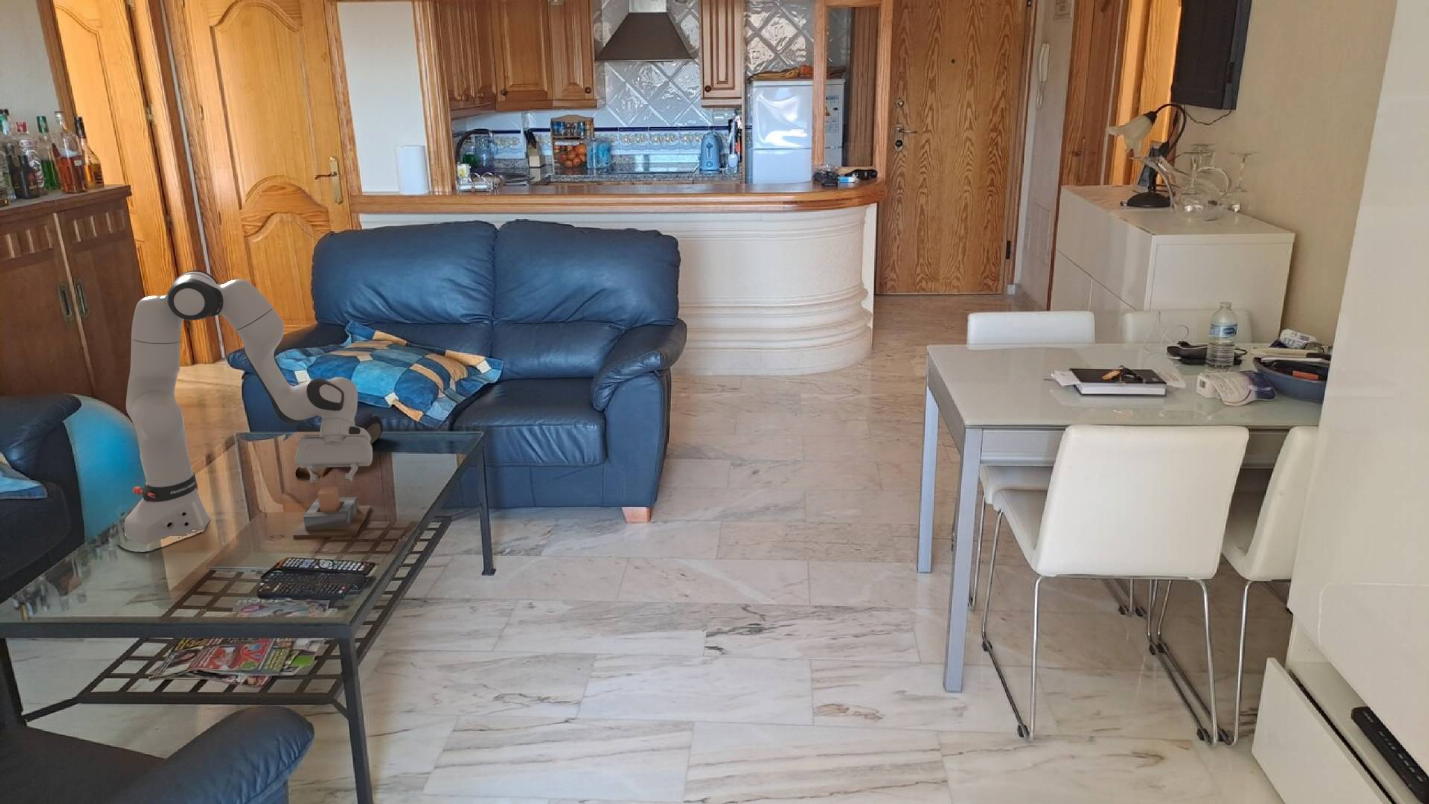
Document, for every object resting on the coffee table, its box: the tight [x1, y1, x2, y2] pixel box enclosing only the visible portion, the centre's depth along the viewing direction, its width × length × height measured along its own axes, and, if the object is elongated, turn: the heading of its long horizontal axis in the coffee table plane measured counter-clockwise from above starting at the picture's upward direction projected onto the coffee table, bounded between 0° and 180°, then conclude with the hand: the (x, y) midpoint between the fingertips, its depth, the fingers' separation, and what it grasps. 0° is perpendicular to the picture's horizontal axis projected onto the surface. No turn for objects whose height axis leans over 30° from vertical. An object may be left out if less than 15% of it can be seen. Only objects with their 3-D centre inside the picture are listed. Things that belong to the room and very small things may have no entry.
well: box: [292, 496, 372, 539], centre depth 265 cm, size 16×16×5 cm
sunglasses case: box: [294, 466, 333, 479], centre depth 301 cm, size 18×7×7 cm
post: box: [317, 486, 341, 512], centre depth 264 cm, size 4×4×9 cm
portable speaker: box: [354, 411, 384, 445], centre depth 311 cm, size 25×10×10 cm, turn 175°
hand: (330, 481), depth 265 cm, fingers open, 8 cm apart
